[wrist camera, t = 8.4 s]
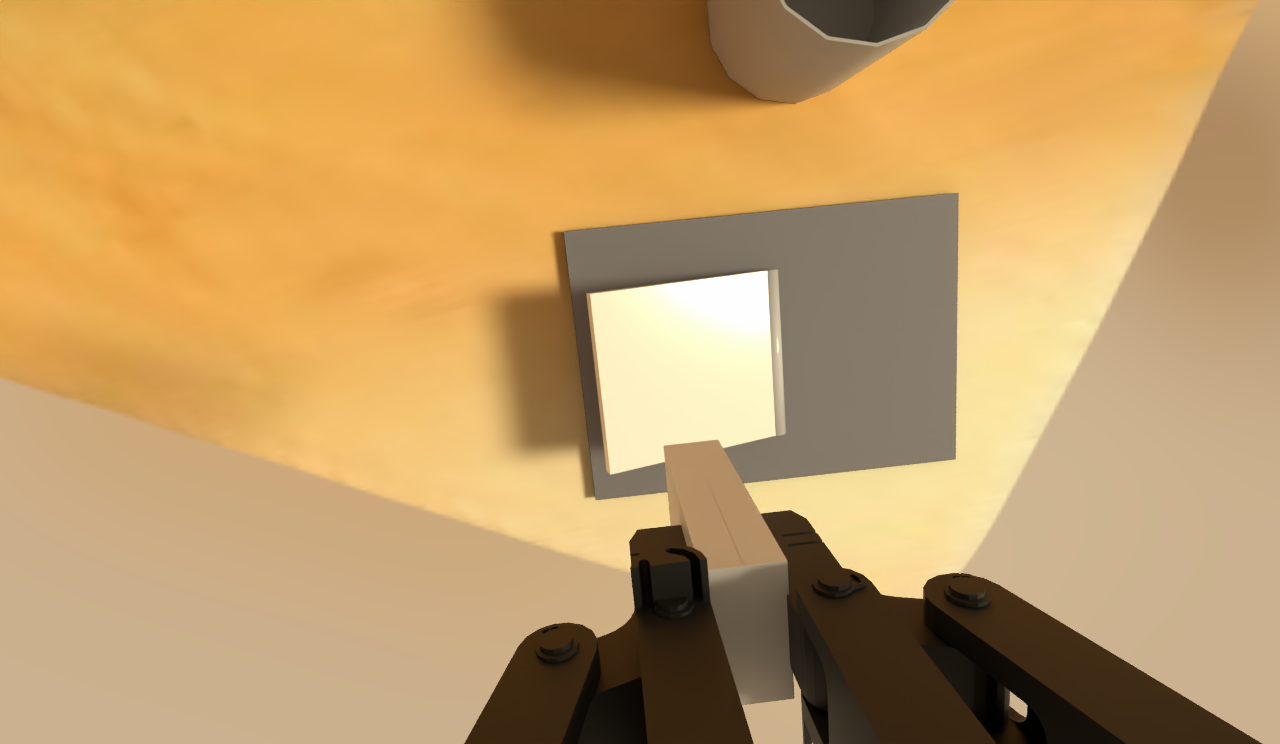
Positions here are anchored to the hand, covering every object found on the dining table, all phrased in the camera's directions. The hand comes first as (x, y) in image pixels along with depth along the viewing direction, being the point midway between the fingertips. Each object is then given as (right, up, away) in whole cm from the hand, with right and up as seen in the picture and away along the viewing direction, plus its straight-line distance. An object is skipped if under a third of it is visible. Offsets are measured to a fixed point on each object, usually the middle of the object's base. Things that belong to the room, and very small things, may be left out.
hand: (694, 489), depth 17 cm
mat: (+6, +4, +18) cm, 19 cm away
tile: (+1, +3, +15) cm, 15 cm away
